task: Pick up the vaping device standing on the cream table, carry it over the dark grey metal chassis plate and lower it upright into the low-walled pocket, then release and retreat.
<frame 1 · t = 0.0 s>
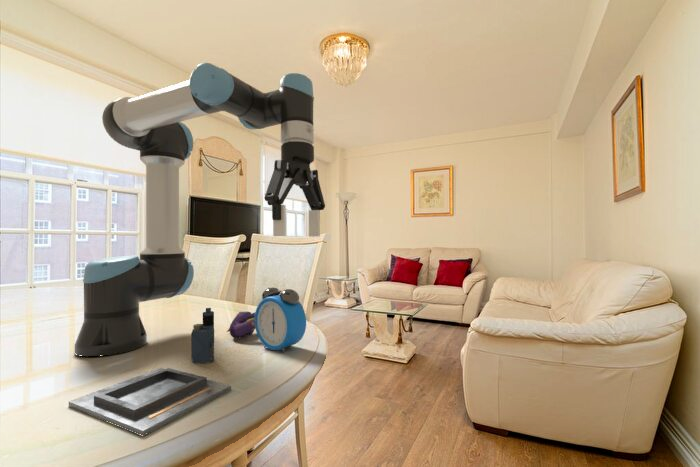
hand: (298, 236, 77), 28 cm above the table, fingers open, 13 cm apart
toy: (246, 336, 96), on the table
vaping device: (203, 362, 75), on the table
alarm clock: (280, 348, 84), on the table
chassis: (153, 397, 58), on the table
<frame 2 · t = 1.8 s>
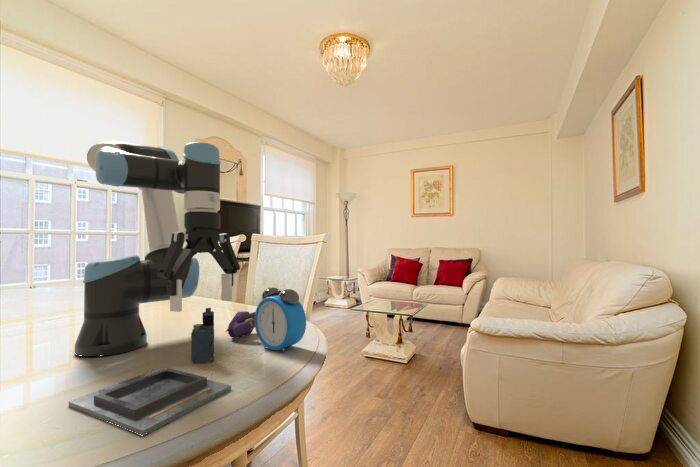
hand: (203, 305, 75), 13 cm above the table, fingers open, 13 cm apart
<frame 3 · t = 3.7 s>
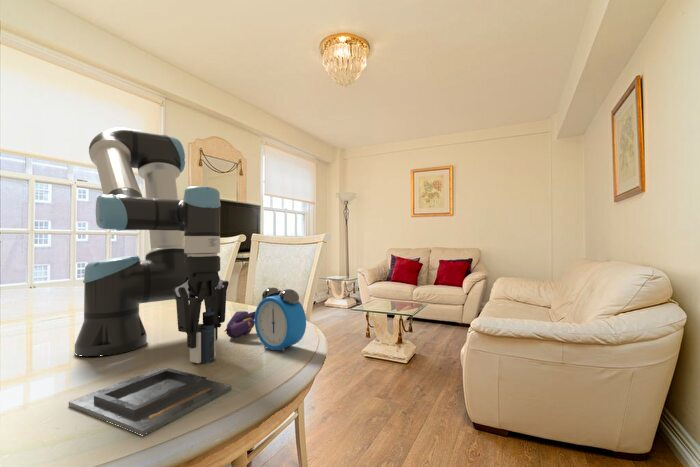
hand: (202, 358, 75), 1 cm above the table, fingers closed on vaping device, 3 cm apart
vaping device: (203, 362, 75), on the table, touching gripper
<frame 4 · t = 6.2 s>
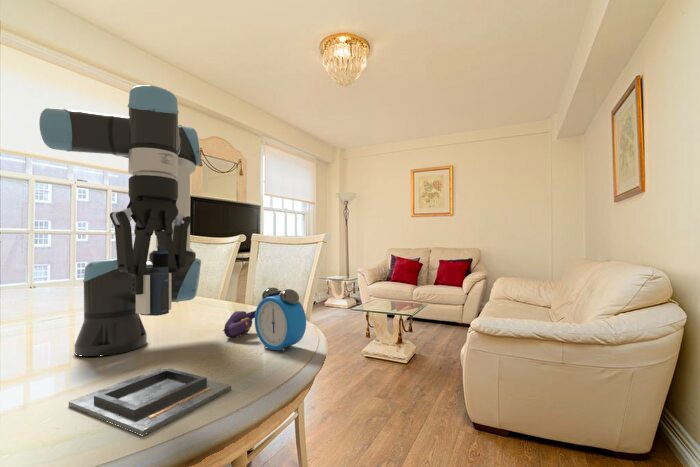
hand: (154, 310, 58), 15 cm above the table, fingers closed on vaping device, 3 cm apart
vaping device: (154, 315, 58), point 14 cm above the table, touching gripper
when the fingers open (3 cm above the table, at t = 8.3 s): vaping device drops 2 cm, resting on chassis.
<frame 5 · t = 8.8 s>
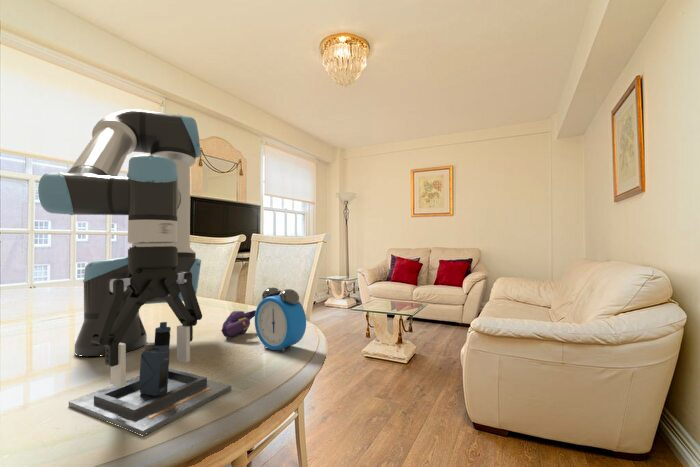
hand: (153, 371, 58), 4 cm above the table, fingers open, 11 cm apart
vaping device: (153, 393, 58), point 1 cm above the table, touching chassis
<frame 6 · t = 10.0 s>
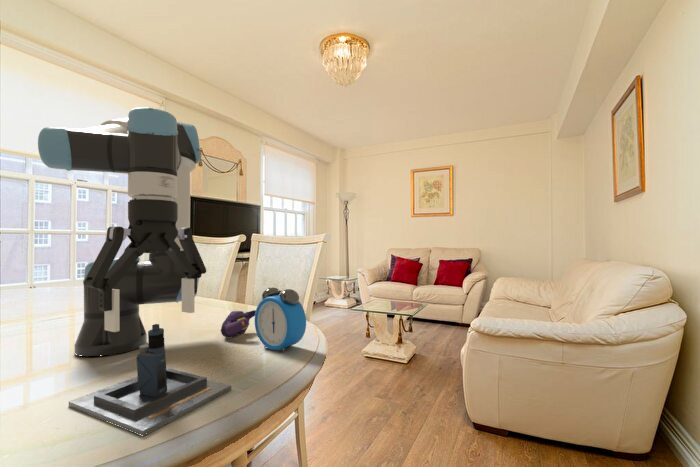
hand: (153, 320, 59), 13 cm above the table, fingers open, 13 cm apart
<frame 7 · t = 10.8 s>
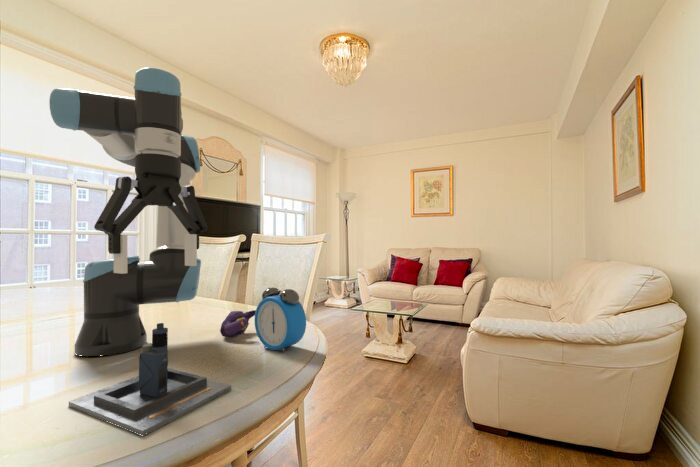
hand: (159, 269, 63), 22 cm above the table, fingers open, 13 cm apart
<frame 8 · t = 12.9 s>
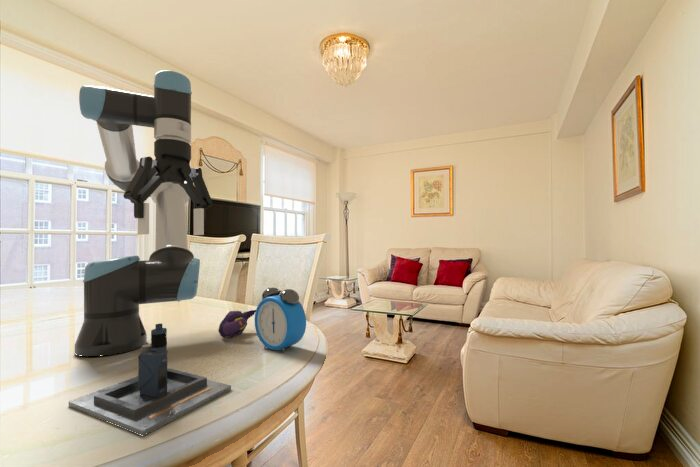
hand: (173, 234, 76), 29 cm above the table, fingers open, 13 cm apart
at the end: vaping device inside the target area on the chassis (0.1 cm from its centre), point 0.6 cm above the chassis's base; vaping device tilted 0°; the gripper is holding nothing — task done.
